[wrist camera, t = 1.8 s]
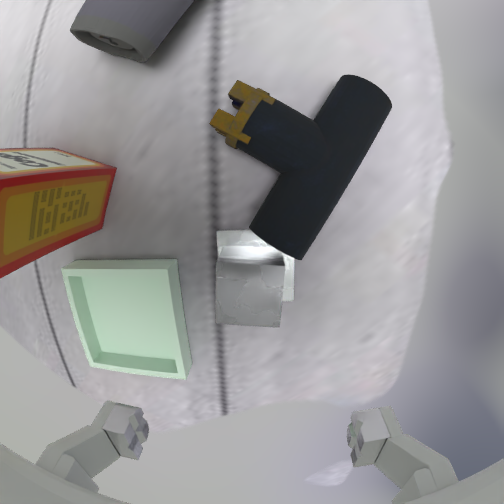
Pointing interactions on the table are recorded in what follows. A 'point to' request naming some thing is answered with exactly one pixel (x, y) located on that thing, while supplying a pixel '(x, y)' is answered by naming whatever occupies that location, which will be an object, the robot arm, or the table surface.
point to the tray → (130, 315)
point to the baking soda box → (48, 202)
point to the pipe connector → (303, 154)
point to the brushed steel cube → (249, 286)
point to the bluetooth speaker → (127, 25)
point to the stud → (250, 239)
